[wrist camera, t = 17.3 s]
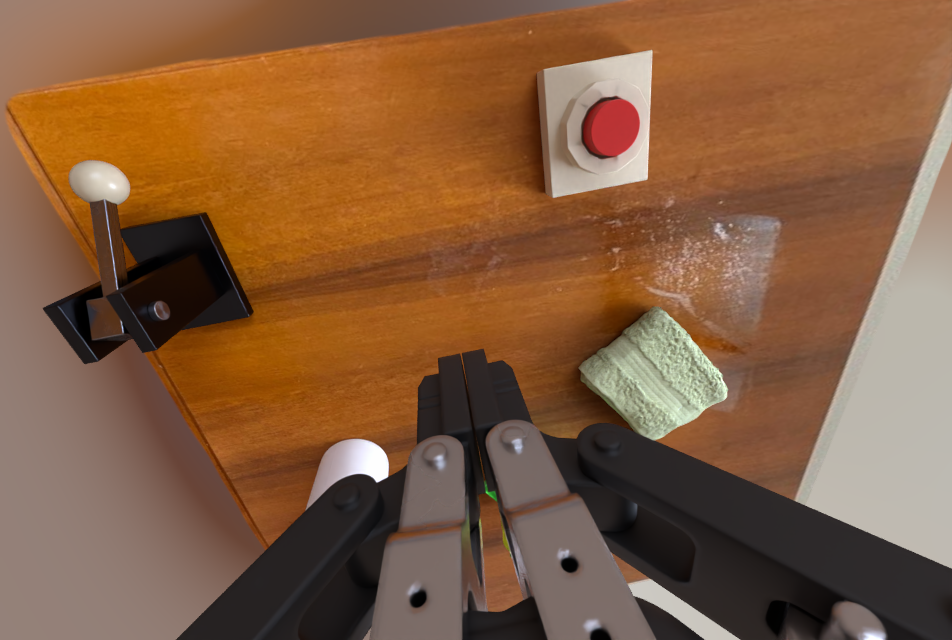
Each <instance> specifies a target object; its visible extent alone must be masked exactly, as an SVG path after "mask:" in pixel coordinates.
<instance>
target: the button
mask: <svg viewBox="0 0 952 640" xmlns="http://www.w3.org/2000/svg"><path fill="white" fill-rule="evenodd" d="M639 128H640V118H639V114H638V111H637V109H636V108H635V107H634V105H633V104H631V103H630V102H629V101H626V100H623V99H616V100H609V101H604V102H602V103H600V104H598V105H596V106H595V107H594V108H593V109H592V110H591V111H590V112H589V114H588V115H587V117H586V120H585V122H584V127H583V137H584V141H585V143H586V145H587V147H588V148H589V149H590V150H591V151H592V152H594V153H596V154H599V155H605V156H616V155H620V154H622V153H624V152H625V151H627V150H628V149H629V148H630V147H631V146H632V145H633V143H634V142H635V140H636V138H637V136H638V133H639Z"/></svg>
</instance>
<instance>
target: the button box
mask: <svg viewBox="0 0 952 640" xmlns="http://www.w3.org/2000/svg"><path fill="white" fill-rule="evenodd" d="M651 72H652V50H649V51H644V52H638V53H632V54H627V55H621V56H616V57H610V58H604V59H599V60H593V61H588V62H582V63H576V64H571V65H565V66H560V67H554V68H548V69H544V70H542V71H540V72H538V73H537V86H538V99H539V112H540V125H541V139H542V152H543V165H544V178H545V191H546V195H548V196H550V197H552V198H554V197H559V196H564V195H570V194H575V193H580V192H585V191H591V190H596V189H601V188H606V187H612V186H617V185H622V184H627V183H633V182H638V181H643V180H647V172H648V147H649V122H650V97H651ZM616 99H623V100H626V101H629V102H630V103H631V104H633V105H634V107H635V108H636V109H637V111H638V114H639V118H640V128H639V133H638V136H637V138H636V140H635V142H634V143H633V145H632V146H631V147H630V148H629V149H628V150H627V151H625V152H624V153H622V154H620V155H616V156H605V155H599V154H596V153H594V152H592V151H591V150H590V149H589V148H588V147H587V145H586V143H585V141H584V137H583V127H584V122H585V120H586V117H587V115H588V114H589V112H590V111H591V110H592V109H593V108H594V107H595V106H596V105H598V104H600V103H602V102H604V101H609V100H616Z"/></svg>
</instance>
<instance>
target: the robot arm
mask: <svg viewBox="0 0 952 640" xmlns="http://www.w3.org/2000/svg"><path fill="white" fill-rule="evenodd" d="M462 357H463V363H464V369H465V374H464V370H463V365H462V360H461V356H460V354H456V355H451V356H446V357H441V358H438V366H439V374H434V375H429V376H425V377H424V379H423V380H422V382H421V384H420V385H419V387H418V418H417V446H416V447H415V448H414V449H413V450H412V452H411V453H410V455H409V459H408V464H407V465H406V466H405V467H404V468H403V469H401V470H400V471H398V472H397V473H395V474H393V475H391V476H389V477H387V478H385V479H383V480H381V481H379V482H376V480H375V479H374V478H373V477H371V476H369V475H366V474H353V475H349V476H346V477H344V478H342V479H340V480H338V481H337V482H335V483H334V484H332V485H331V486H330V487H329V488H328V489H327V490H326V491H325V492H324V493H323V494H322V495H321V496H320V497H319V498H318V499H317V500H316V501H315V502H314V503H313V504H312V505H311V506H310V507H309V508H308V509H307V510H306V511H305V512H304V513H303V514H302V515H301V516H300V517H299V518H298V519H297V520H296V521H295V522H294V523H293V524H292V525H291V526H290V527H289V528H288V529H287V530H286V531H285V532H284V533H283V534H282V535H281V536H280V537H279V538H278V539H277V540H276V541H275V542H274V543H273V544H272V545H271V546H270V547H269V548H268V549H267V550H266V551H265V552H264V553H263V554H262V555H261V556H260V557H259V558H258V559H257V560H256V561H255V562H254V563H253V564H252V565H251V566H250V567H249V568H248V569H247V570H246V571H245V572H244V573H243V574H242V575H241V576H240V577H239V578H238V579H237V580H236V581H235V582H234V583H233V584H232V585H231V586H230V587H229V588H228V589H227V590H226V591H225V592H224V593H223V594H222V595H221V596H220V597H218V599H216V600H215V602H213V604H211V605H210V606H209V607H208V608H207V609H206V610H205V611H204V613H202V614H201V615H200V616H199V617H198V618H197V619H196V620H195V621H194V622H193V623H192V624H191V625H190V626H189V627H188V628H187V629H186V630H185V631H184V632H183V633H182V634H181V635H180V636H179V637H178V638H177V639H176V640H363V638H364V637H365V635H366V634H367V632H368V630H369V629H370V628H371V633H370V639H369V640H704V639H703V638H702V637H700V636H699V635H698V634H696V633H695V632H694V631H692V630H691V629H690V628H688V627H687V626H686V625H684V624H683V623H682V622H680V621H679V620H678V619H676V618H675V617H674V616H672V615H671V614H669V613H668V612H666V611H664V610H663V609H661V608H659V607H658V606H656V605H654V604H652V603H650V602H647V601H645V600H643V599H641V598H638V597H635V596H633V594H632V592H631V590H630V588H629V586H628V585H627V583H626V581H625V579H624V577H623V575H622V573H621V571H620V569H619V567H618V565H617V564H616V562H615V560H614V558H613V556H612V554H611V552H612V553H613V554H615V555H616V556H618V557H619V558H621V559H622V560H624V561H625V562H626V563H628V564H629V565H631V566H632V567H634V568H635V569H637V570H638V571H640V572H641V573H643V574H644V575H646V576H647V577H649V578H650V579H652V580H653V581H655V582H656V583H658V584H659V585H661V586H662V587H663V588H665V589H666V590H668V591H669V592H671V593H672V594H674V595H675V596H677V597H678V598H680V599H681V600H683V601H684V602H686V603H687V604H689V605H690V606H692V607H693V608H695V609H696V610H698V611H699V612H700V613H702V614H704V615H705V616H706V617H708V618H709V619H711V620H712V621H714V622H715V623H717V624H718V625H720V626H721V627H723V628H724V629H726V630H727V631H729V632H730V633H732V634H733V635H735V636H736V637H737V638H739V639H740V640H952V569H951V568H949V567H946V566H944V565H942V564H939V563H937V562H935V561H933V560H930V559H928V558H926V557H923V556H921V555H919V554H916V553H914V552H912V551H909V550H907V549H904V548H902V547H900V546H898V545H895V544H893V543H891V542H888V541H886V540H884V539H881V538H879V537H877V536H875V535H872V534H870V533H868V532H865V531H863V530H861V529H858V528H856V527H853V526H851V525H849V524H847V523H844V522H842V521H840V520H837V519H835V518H833V517H830V516H828V515H826V514H823V513H821V512H818V511H817V510H814V509H812V508H809V507H807V506H805V505H803V504H800V503H798V502H796V501H793V500H791V499H789V498H786V497H784V496H782V495H779V494H777V493H775V492H772V491H770V490H768V489H765V488H763V487H761V486H759V485H756V484H754V483H752V482H749V481H747V480H745V479H742V478H740V477H738V476H735V475H733V474H731V473H728V472H726V471H724V470H721V469H719V468H717V467H714V466H712V465H710V464H707V463H705V462H703V461H701V460H698V459H696V458H694V457H691V456H689V455H687V454H684V453H682V452H680V451H677V450H675V449H673V448H670V447H668V446H666V445H663V444H661V443H659V442H656V441H654V440H652V439H649V438H647V437H645V436H643V435H640V434H638V433H636V432H633V431H631V430H629V429H626V428H624V427H622V426H619V425H616V424H611V423H597V424H593V425H590V426H588V427H586V428H584V429H583V430H582V431H581V432H580V433H579V435H578V437H577V439H570V438H557V437H552V436H549V435H546V434H544V433H542V432H541V431H539V430H538V428H537V427H536V426H534V424H533V422H532V420H531V418H530V415H529V412H528V410H527V407H526V404H525V402H524V399H523V396H522V393H521V391H520V389H519V385H518V383H517V380H516V377H515V375H514V372H513V369H512V368H511V367H510V366H509V365H508V364H506V363H505V362H504V361H503V360H502V361H497V362H492V363H487V360H486V356H485V353H484V349H480V350H475V351H470V352H465V353H462ZM465 375H466V379H465ZM466 381H467V384H466ZM467 387H468V388H467ZM476 437H477V438H476ZM477 442H478V443H477ZM478 446H479V449H478ZM479 451H480V455H479ZM480 456H481V460H482V465H483V470H484V474H485V479H486V484H487V488H488V492H492V491H495V493H496V498H497V503H498V507H499V512H500V517H501V521H502V525H503V528H504V532H505V535H506V539H507V542H508V546H509V549H510V553H511V556H512V560H513V563H514V567H515V570H516V574H517V577H518V581H519V584H520V588H521V592H522V596H523V601H521V602H520V603H518V604H516V605H514V606H512V607H511V608H509V609H507V610H505V611H502V612H489V611H488V609H487V602H486V592H485V576H484V561H483V545H482V529H481V520H480V503H479V497H478V495H479V494H484V493H486V490H485V484H484V478H483V473H482V467H481V461H480Z"/></svg>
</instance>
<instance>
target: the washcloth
mask: <svg viewBox="0 0 952 640" xmlns="http://www.w3.org/2000/svg"><path fill="white" fill-rule="evenodd" d="M579 370H580V371H581V377H580V380H581V381H582V382H583V383H585V384H586V385H587V387H589V388H590V389H591V390H593V392H594V393H596V394H598V395H600V396H601V398H602V399H604V400H605V401H606V402H607V403H608V405H611V407H612V408H613V409H615V411H616V412H617V413H618V414H619V415H621V416H622V417H623V419H624V420H625V421H627V422H628V423H629V425H630V427H631V428H632V429H633V430H634V431H635V432H636V433H638V434H640V435H643V436H645V437H647V438H649V439H652V440H656V439H659V438H661V437H663V436H665V435H666V434H667V433H669V432H670V431H672V430H673V429H675V428H676V427H678V426H681V425H684V424H686V423H688V422H690V421H692V420H694V419H696V418H697V417H698V416H699V415H700V414H701V412H702V411H704V410H705V409H706V408H707V407H709V406H711V405H713V404H715V403H718V402H721V401H723V400H724V399H725V398H726V397H727V391H728V389H727V387H726V384H724V381H723V380H722V377H723V375H722V374H721V373H720V372H719V371H718V368H715V367H714V366H713V365H712V362H710V361H709V360H708V359H707V357H706V356H705V355H704V354H703V353H702V351H701V350H700V349H699V348H698V346H697V345H696V344H695V343H694V342H693V341H692V339H691V338H690V335H689V334H687V333H686V331H685V329H683V328H681V326H680V325H679V324H678V323H677V322H676V321H674V320H673V318H672V317H670V316H669V315H668V314H667V313H666V312H665V311H663V310H662V309H661V307H652V308H651V309H650V310H649V311H648V313H645V314H643V316H642V317H640V318H639V319H638V321H636V322H635V323H633V324H632V325H631V326H630V327H628V328H626V329H625V330H623V332H622V335H621V336H620V337H618V338H617V339H616V340H614V341H613V342H612V343H611V344H610V345H609V346H607V347H606V348H601V349H600V350H598V351H597V354H595V355H592V357H590V358H588V359H587V360H586V361H583V363H582V364H581V365H580V366H579Z"/></svg>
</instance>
